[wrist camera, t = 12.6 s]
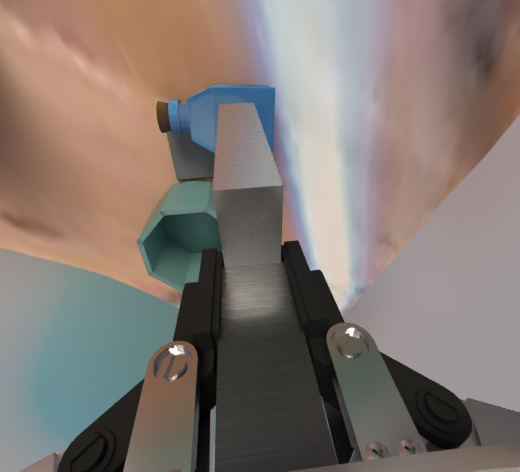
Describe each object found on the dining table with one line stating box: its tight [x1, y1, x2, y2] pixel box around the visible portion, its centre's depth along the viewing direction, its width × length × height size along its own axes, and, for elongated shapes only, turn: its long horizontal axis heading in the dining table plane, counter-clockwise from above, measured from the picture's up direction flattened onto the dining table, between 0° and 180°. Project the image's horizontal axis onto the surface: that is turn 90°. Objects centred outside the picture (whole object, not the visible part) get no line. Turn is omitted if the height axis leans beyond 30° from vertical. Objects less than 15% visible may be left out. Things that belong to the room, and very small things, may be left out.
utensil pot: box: [136, 180, 225, 292], centre depth 36 cm, size 12×12×9 cm
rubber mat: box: [167, 131, 215, 179], centre depth 34 cm, size 12×9×1 cm
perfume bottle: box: [156, 85, 275, 153], centre depth 29 cm, size 6×6×12 cm
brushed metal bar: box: [212, 102, 338, 472], centre depth 11 cm, size 2×9×18 cm, turn 3°
